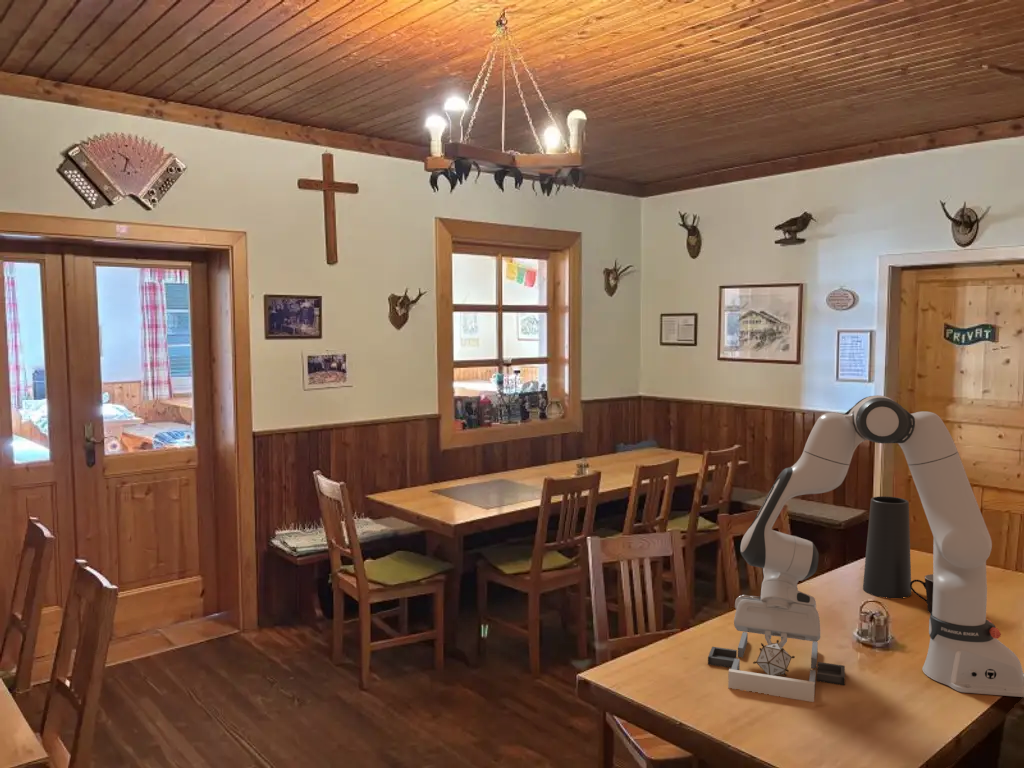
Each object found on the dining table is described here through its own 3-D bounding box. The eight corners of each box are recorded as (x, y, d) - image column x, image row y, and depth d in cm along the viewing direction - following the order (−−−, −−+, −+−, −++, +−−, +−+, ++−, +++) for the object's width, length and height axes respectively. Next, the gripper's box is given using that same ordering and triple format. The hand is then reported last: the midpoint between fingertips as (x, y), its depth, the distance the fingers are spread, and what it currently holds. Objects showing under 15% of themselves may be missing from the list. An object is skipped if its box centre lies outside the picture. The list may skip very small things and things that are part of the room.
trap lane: (844, 655, 201) (844, 639, 201) (844, 707, 174) (845, 689, 174) (718, 637, 213) (718, 623, 213) (700, 683, 186) (700, 666, 185)
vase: (859, 593, 247) (861, 501, 245) (867, 581, 258) (869, 493, 256) (907, 601, 240) (911, 506, 237) (914, 589, 251) (917, 498, 249)
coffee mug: (963, 614, 229) (964, 580, 228) (947, 620, 224) (948, 585, 224) (923, 602, 239) (924, 569, 238) (907, 608, 234) (908, 575, 233)
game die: (781, 693, 188) (801, 671, 182) (747, 680, 189) (765, 657, 183) (781, 662, 195) (800, 639, 189) (748, 649, 196) (766, 626, 190)
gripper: (735, 588, 203) (729, 639, 194) (821, 598, 195) (819, 653, 187) (737, 599, 207) (731, 650, 199) (821, 610, 199) (819, 663, 191)
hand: (774, 651), depth 193 cm, fingers closed, pressing on game die
